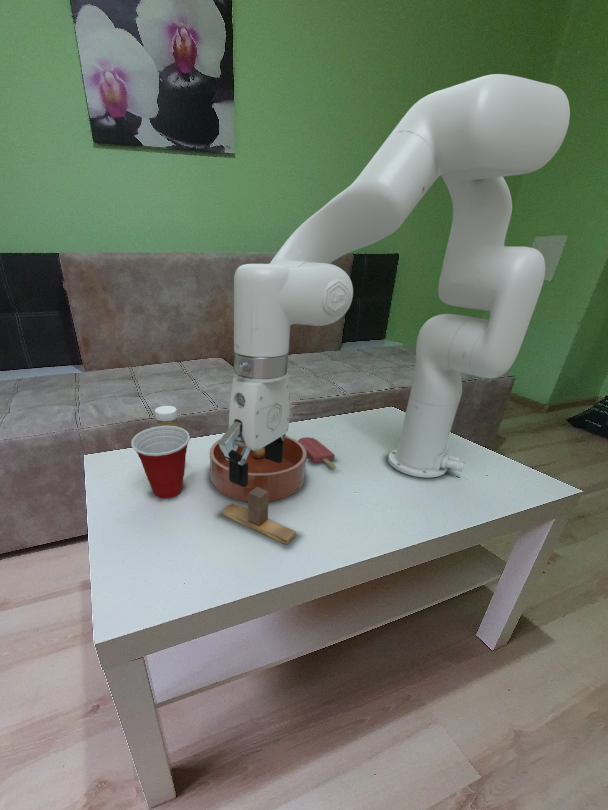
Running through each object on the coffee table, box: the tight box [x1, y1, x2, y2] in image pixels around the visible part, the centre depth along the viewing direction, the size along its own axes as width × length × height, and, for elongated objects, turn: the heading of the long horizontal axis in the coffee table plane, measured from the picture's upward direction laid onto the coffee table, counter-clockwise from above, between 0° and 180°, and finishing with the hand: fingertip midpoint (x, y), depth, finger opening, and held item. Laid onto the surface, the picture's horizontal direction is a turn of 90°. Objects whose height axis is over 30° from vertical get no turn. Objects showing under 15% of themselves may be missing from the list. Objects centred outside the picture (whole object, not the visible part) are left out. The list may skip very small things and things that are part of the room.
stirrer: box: [221, 487, 297, 546], centre depth 67 cm, size 14×3×7 cm, turn 53°
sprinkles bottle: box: [154, 405, 179, 427], centre depth 83 cm, size 5×5×13 cm
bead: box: [252, 447, 265, 458], centre depth 88 cm, size 3×3×3 cm
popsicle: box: [297, 436, 336, 469], centre depth 91 cm, size 5×2×15 cm
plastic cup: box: [130, 426, 191, 499], centre depth 75 cm, size 11×11×12 cm
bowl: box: [209, 435, 307, 502], centre depth 82 cm, size 20×20×6 cm
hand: (256, 471), depth 63 cm, fingers open, 9 cm apart
